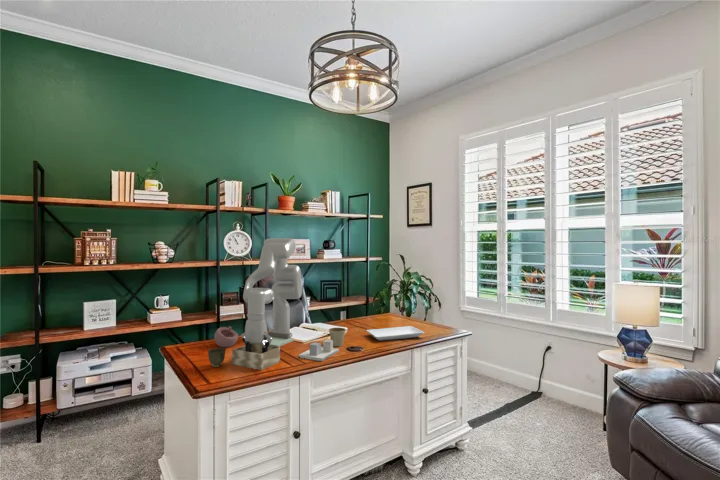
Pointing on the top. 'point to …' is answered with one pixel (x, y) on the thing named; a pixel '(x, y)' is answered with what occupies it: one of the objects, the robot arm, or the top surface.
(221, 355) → the cup
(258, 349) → the birch box
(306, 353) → the white dish
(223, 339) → the mortar and pestle
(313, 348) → the grey block
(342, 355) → the top surface
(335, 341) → the flower pot
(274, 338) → the lid
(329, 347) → the beige block
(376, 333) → the tray
